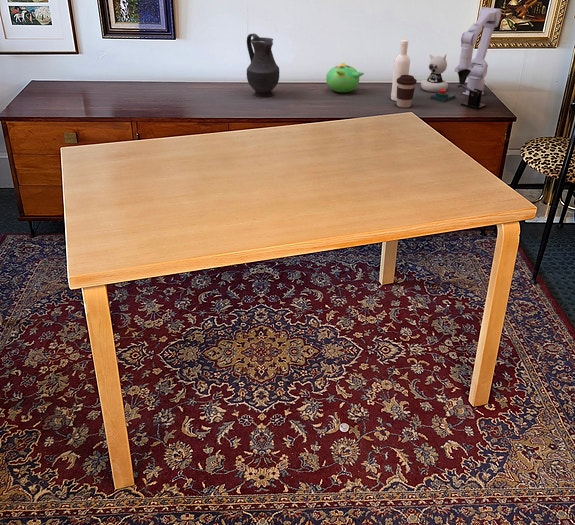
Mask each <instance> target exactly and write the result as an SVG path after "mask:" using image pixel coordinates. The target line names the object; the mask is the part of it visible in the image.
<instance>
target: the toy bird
mask: <svg viewBox="0 0 575 525" xmlns="http://www.w3.org/2000/svg"><path fill="white" fill-rule="evenodd" d="M363 75H365V72H364V71H358V70H357V69H356V68H355V67H353V66H351V65H347V64H346V63H345V62H341V63H340V64H339V65H335V66H333V67H332V68H331V69H329V70H328V72H327V73H326V76H325V77H326V78H325V82H326V84H327V87H328V88H329V89H330V90H332V91H333V92H336V93H348V92H351V91H354V90H355V89H356V88H357V87H358V85H359V84H360V80H361V78H360V77H362V76H363Z"/></svg>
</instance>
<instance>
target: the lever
mask: <svg viewBox="0 0 575 525" xmlns="http://www.w3.org/2000/svg"><path fill="white" fill-rule="evenodd" d="M457 88H462V89H464V90H465V91H466V90H467V91H469V92H470V90H471V89H469V88H468V87H467V84H466V83H464V84H463V85H462V84H459V85H457ZM474 91H476V90H474ZM477 92H478V91H477ZM479 93H480V92H478V96H479ZM478 96H477V97H478Z"/></svg>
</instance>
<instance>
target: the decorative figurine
mask: <svg viewBox="0 0 575 525" xmlns="http://www.w3.org/2000/svg"><path fill="white" fill-rule="evenodd" d="M447 55H448V54H445V55H444V56H441V55H436V56H434V55H432V54H429V59H430V61H429V63H428V64H429V65H428V69H429V71H430V74H429V76H428V77H427V78H425V79H423V80H422V81H421V82H420V87H421V89H422V90H423V91H425V92H429V93H436V92H437V91H439V90H440V89H445V90H446V91H447V90H448V88H449V83H448V82H447V81H446V80H444V79H443V76H442V74H443V73H444V72H446V70H447V67H448V62H447V60H446V59H447Z"/></svg>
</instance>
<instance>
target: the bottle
mask: <svg viewBox="0 0 575 525" xmlns="http://www.w3.org/2000/svg"><path fill="white" fill-rule="evenodd" d="M399 44H400V47H399V54H398V55H397V56H396V57H395V59H394V64H393V74H392V84H391V86H392V87H391V93H390V99H391V101H393V102H397V86H398V83H397V78H400V76H401V75H410V66H411V59H410V57H409V56H408V47H409V40H408V39H401V40H400V43H399Z"/></svg>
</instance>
